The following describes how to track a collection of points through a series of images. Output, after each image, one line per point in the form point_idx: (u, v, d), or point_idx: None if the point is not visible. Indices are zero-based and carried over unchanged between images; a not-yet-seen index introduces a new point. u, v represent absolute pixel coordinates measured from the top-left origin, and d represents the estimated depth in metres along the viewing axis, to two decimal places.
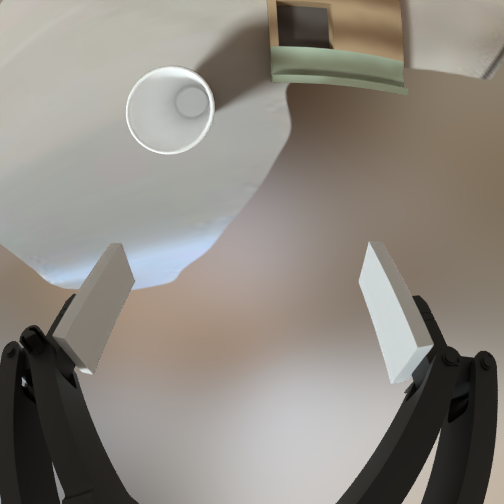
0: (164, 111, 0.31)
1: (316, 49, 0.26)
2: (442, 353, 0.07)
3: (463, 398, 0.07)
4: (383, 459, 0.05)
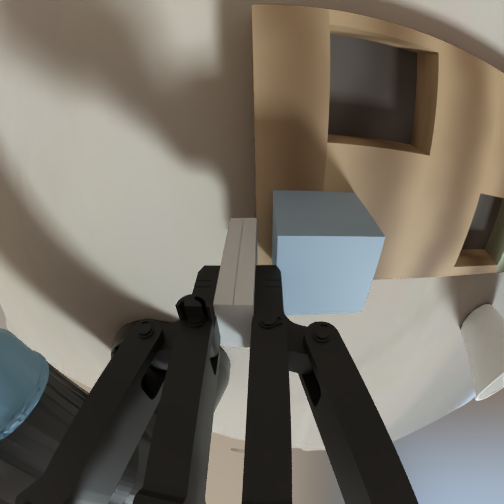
0: None
1: None
2: (258, 319, 0.09)
3: None
4: None
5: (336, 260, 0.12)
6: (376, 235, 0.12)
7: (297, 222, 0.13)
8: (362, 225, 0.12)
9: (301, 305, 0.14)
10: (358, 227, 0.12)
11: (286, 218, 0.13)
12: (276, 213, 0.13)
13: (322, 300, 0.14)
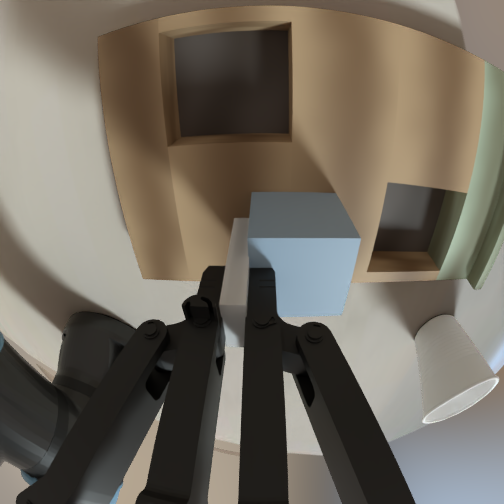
0: None
1: (460, 221, 0.16)
2: (251, 319, 0.09)
3: None
4: None
5: (310, 263, 0.12)
6: (351, 236, 0.12)
7: (270, 224, 0.13)
8: (338, 226, 0.12)
9: (278, 307, 0.14)
10: (333, 228, 0.12)
11: (259, 220, 0.13)
12: (250, 215, 0.13)
13: (299, 303, 0.14)
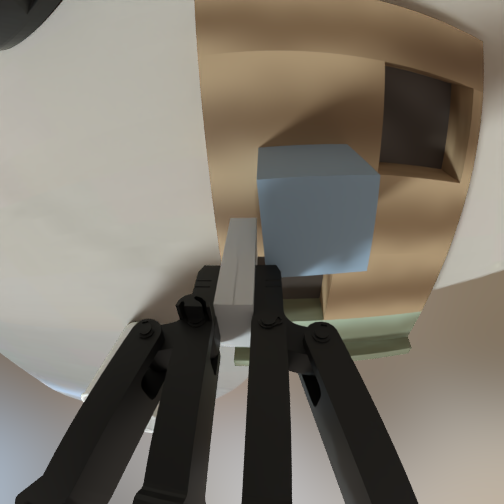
0: None
1: (297, 323, 0.23)
2: (258, 319, 0.09)
3: None
4: None
5: (345, 234, 0.12)
6: (367, 262, 0.13)
7: None
8: None
9: (277, 210, 0.11)
10: None
11: None
12: (363, 160, 0.11)
13: (286, 232, 0.12)
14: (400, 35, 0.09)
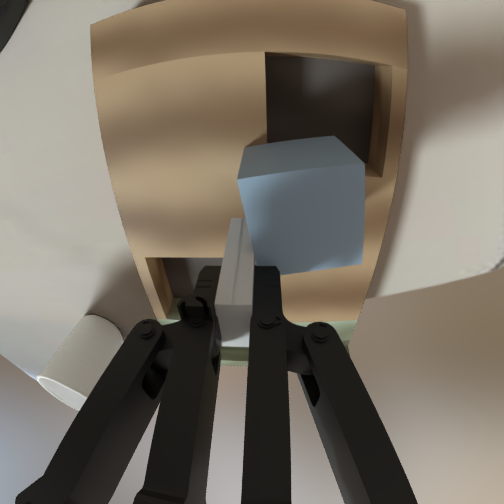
0: None
1: None
2: (256, 319, 0.09)
3: None
4: None
5: (334, 228, 0.11)
6: (361, 255, 0.12)
7: None
8: None
9: (261, 209, 0.11)
10: None
11: None
12: (349, 150, 0.11)
13: (274, 230, 0.11)
14: (284, 19, 0.10)
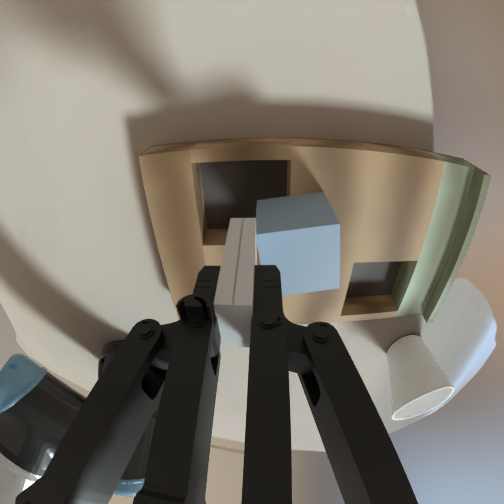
0: None
1: (412, 279, 0.24)
2: (257, 319, 0.09)
3: None
4: None
5: (304, 247, 0.16)
6: (332, 223, 0.15)
7: (271, 222, 0.17)
8: (322, 217, 0.16)
9: (287, 287, 0.18)
10: (319, 219, 0.16)
11: (263, 221, 0.17)
12: (256, 218, 0.18)
13: (302, 281, 0.18)
14: (178, 235, 0.22)
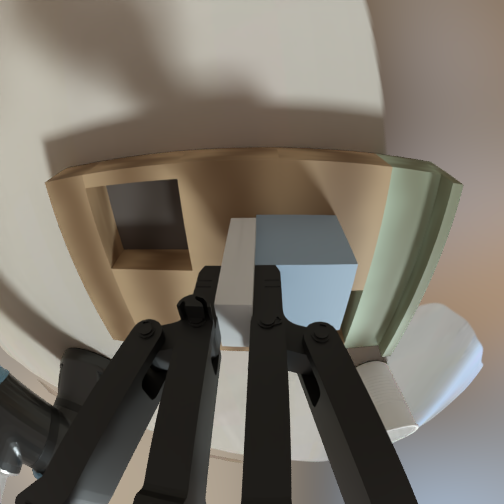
0: None
1: (359, 310, 0.21)
2: (257, 319, 0.09)
3: None
4: None
5: (310, 286, 0.13)
6: (349, 262, 0.13)
7: (274, 250, 0.14)
8: (337, 252, 0.13)
9: None
10: (333, 254, 0.13)
11: (264, 246, 0.14)
12: (256, 240, 0.14)
13: (300, 320, 0.15)
14: (88, 258, 0.19)
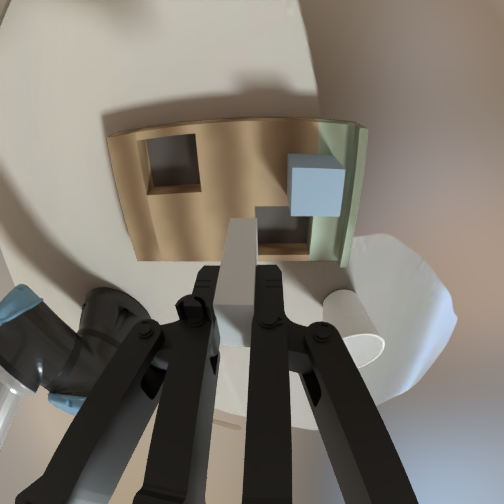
0: None
1: (314, 223, 0.33)
2: (258, 319, 0.09)
3: None
4: None
5: (321, 181, 0.24)
6: (340, 168, 0.24)
7: (301, 163, 0.25)
8: (334, 165, 0.24)
9: (305, 209, 0.26)
10: (332, 166, 0.24)
11: (295, 162, 0.25)
12: (290, 161, 0.25)
13: (316, 206, 0.26)
14: (131, 189, 0.30)
